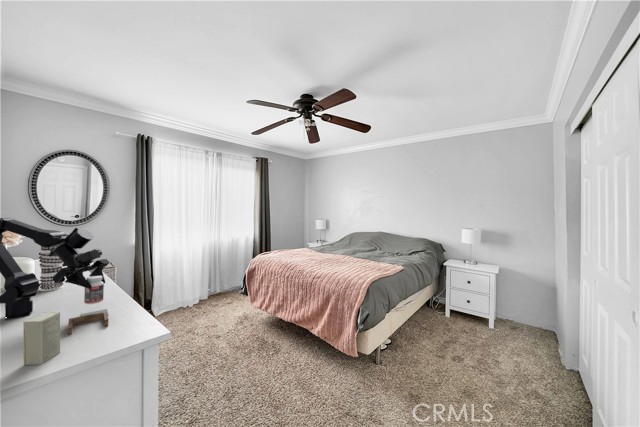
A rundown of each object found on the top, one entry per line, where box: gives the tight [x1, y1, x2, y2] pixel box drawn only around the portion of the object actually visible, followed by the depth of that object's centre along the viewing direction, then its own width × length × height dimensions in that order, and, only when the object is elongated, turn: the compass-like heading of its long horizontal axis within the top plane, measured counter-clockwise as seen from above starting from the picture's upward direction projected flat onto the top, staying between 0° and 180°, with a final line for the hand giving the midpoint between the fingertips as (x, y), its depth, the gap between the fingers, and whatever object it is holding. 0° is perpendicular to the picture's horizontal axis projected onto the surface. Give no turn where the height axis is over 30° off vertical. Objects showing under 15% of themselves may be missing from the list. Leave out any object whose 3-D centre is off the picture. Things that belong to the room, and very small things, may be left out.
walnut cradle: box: [67, 310, 109, 336], centre depth 93 cm, size 10×10×2 cm
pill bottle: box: [83, 276, 105, 305], centre depth 102 cm, size 6×6×10 cm
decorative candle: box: [38, 246, 64, 292], centre depth 133 cm, size 9×9×25 cm
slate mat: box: [80, 308, 109, 317], centre depth 102 cm, size 8×8×1 cm
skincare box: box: [23, 311, 61, 366], centre depth 73 cm, size 6×4×12 cm
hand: (97, 285), depth 102 cm, fingers closed on pill bottle, 6 cm apart
